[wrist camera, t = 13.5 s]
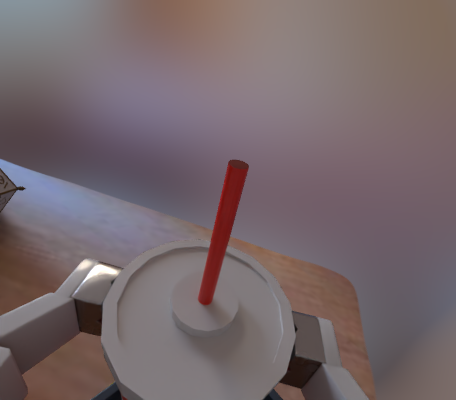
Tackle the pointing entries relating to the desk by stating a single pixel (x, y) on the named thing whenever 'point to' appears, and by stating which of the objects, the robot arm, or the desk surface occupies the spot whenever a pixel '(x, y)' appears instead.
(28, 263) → the desk surface
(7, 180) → the game die
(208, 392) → the beverage cup
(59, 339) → the robot arm
